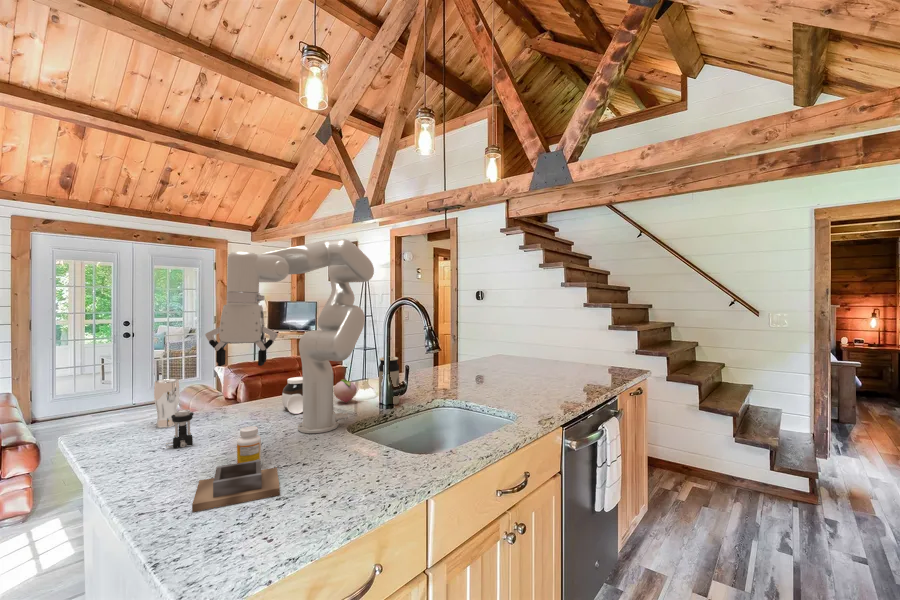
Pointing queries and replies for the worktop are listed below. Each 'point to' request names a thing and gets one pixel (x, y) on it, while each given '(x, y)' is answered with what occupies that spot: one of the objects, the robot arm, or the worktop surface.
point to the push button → (182, 429)
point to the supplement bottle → (249, 445)
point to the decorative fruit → (345, 390)
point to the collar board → (236, 485)
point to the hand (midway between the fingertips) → (241, 365)
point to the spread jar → (293, 395)
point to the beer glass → (166, 401)
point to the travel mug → (393, 372)
